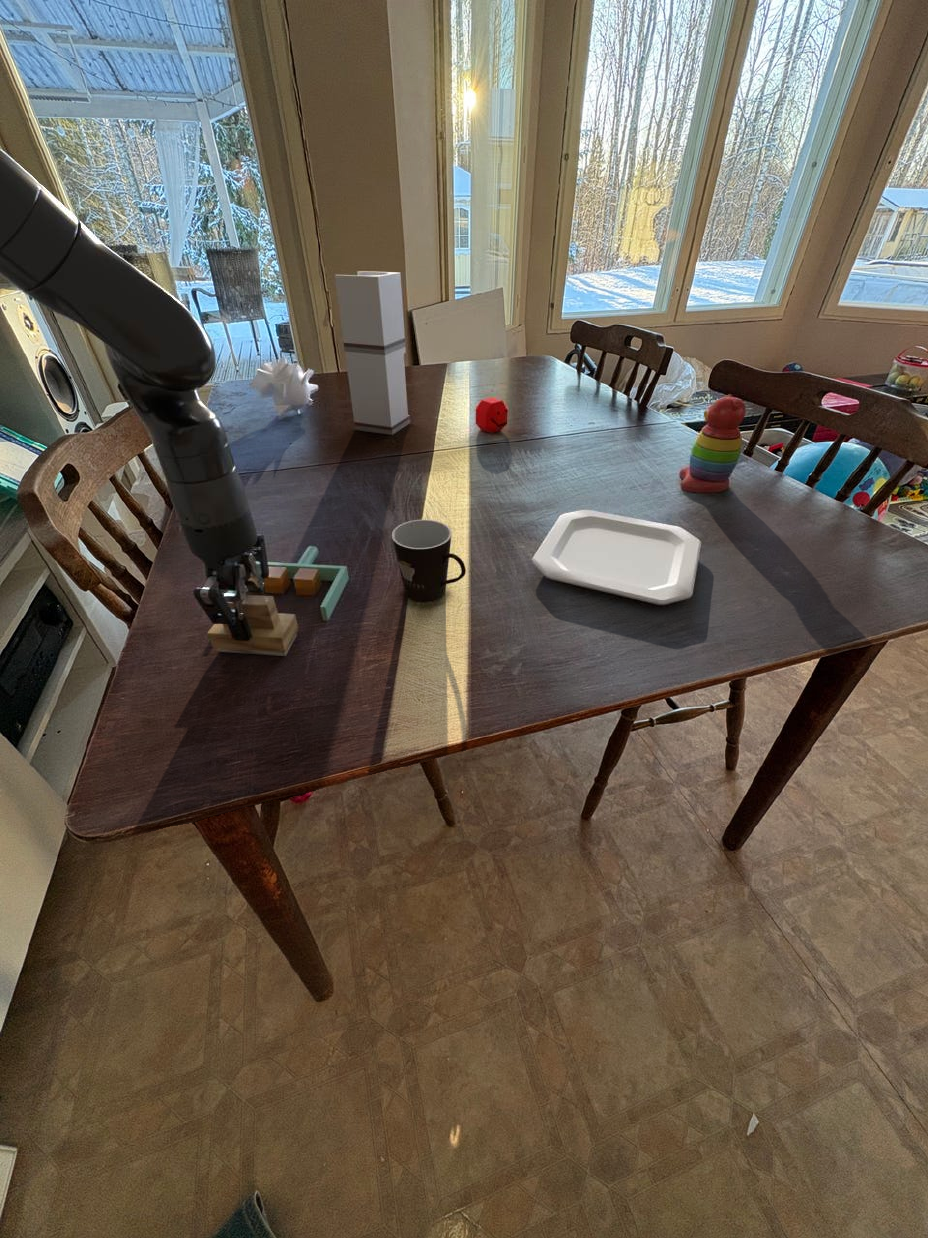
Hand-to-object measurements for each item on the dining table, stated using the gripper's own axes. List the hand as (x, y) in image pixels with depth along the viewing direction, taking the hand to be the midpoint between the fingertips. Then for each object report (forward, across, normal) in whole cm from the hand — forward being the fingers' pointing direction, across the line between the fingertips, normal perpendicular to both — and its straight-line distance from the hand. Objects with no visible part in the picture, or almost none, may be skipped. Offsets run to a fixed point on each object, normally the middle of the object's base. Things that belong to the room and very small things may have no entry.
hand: (252, 625), depth 68 cm
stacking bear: (+3, -60, +75) cm, 96 cm away
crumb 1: (+3, -13, -2) cm, 14 cm away
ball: (+3, -90, +27) cm, 94 cm away
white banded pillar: (+3, -91, -3) cm, 91 cm away
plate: (+3, -26, +52) cm, 58 cm away
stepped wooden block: (+3, 0, 0) cm, 3 cm away
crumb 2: (+3, -13, +3) cm, 14 cm away
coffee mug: (+3, -13, +22) cm, 26 cm away
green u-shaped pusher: (+3, -14, 0) cm, 14 cm away
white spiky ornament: (+3, -101, -34) cm, 106 cm away
